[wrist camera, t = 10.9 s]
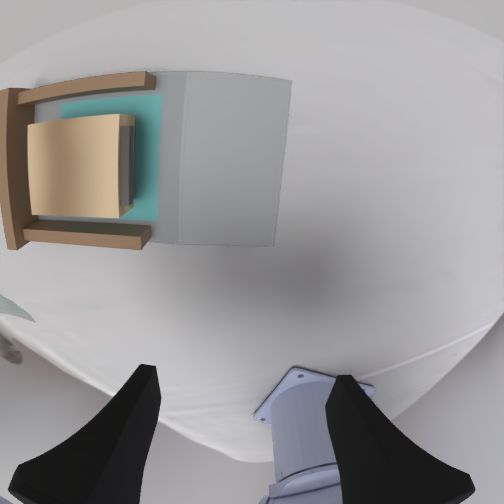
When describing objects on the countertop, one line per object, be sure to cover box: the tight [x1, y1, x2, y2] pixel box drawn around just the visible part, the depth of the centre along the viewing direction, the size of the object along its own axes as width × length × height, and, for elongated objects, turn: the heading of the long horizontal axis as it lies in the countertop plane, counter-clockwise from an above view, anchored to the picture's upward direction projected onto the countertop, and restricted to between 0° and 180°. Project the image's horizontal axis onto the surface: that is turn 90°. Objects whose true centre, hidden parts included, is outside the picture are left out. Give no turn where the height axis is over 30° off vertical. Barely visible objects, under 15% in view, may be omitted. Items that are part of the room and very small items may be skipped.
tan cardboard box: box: [28, 114, 136, 218], centre depth 14 cm, size 6×5×3 cm
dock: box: [0, 71, 292, 250], centre depth 15 cm, size 18×10×5 cm, turn 85°
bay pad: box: [61, 95, 163, 221], centre depth 16 cm, size 7×8×1 cm
